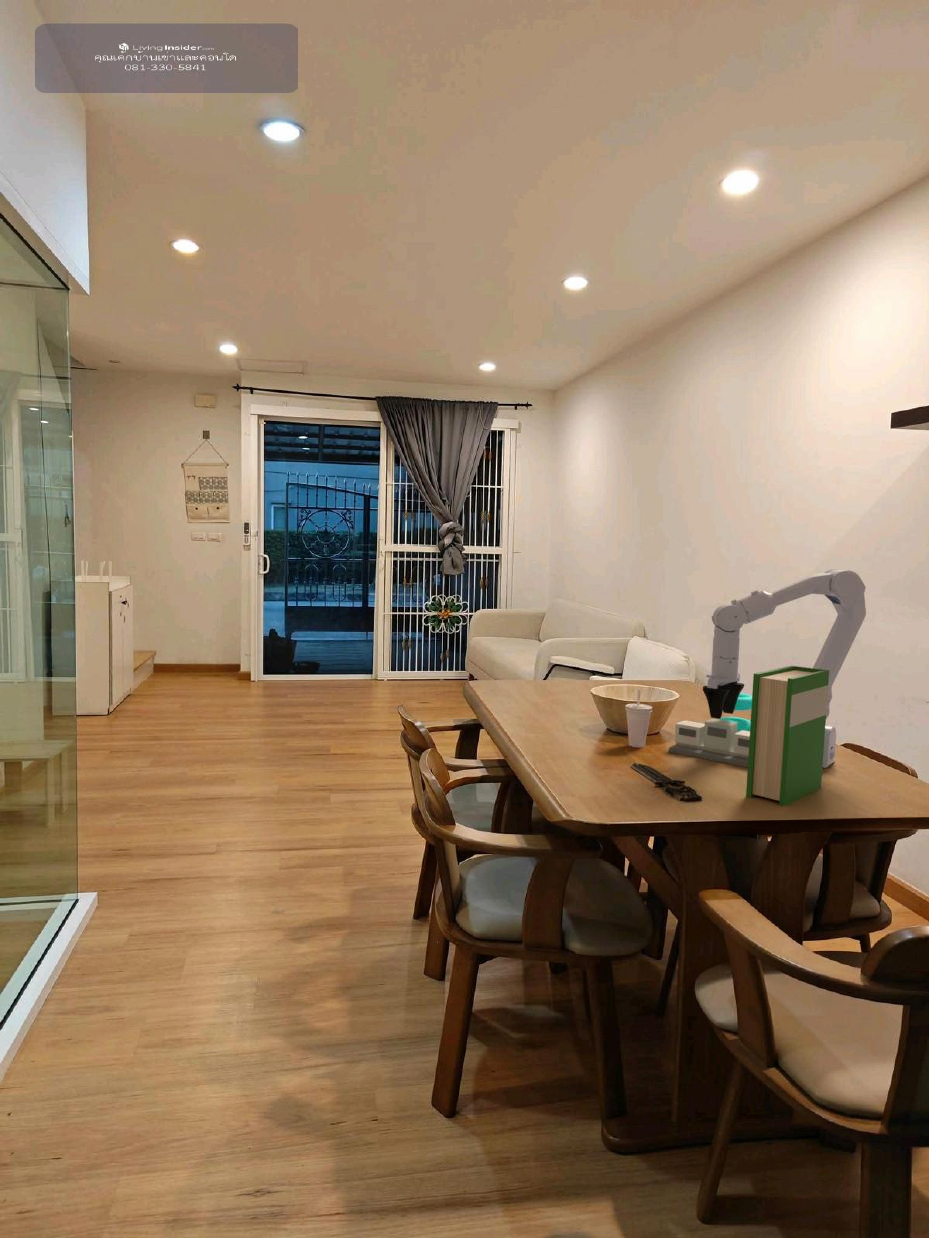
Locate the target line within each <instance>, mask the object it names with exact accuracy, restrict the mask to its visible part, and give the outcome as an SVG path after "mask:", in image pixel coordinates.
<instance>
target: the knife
mask: <svg viewBox="0 0 929 1238" xmlns="http://www.w3.org/2000/svg"><path fill="white" fill-rule="evenodd" d="M630 768H632V769H634V770H635V771H637V773H639V774H641V775H642V776H645V777H646V778H647V779H649V780H651V781H652V780H653V781H652V782H653V783H654V785H655V786H654V788H661V787H665V788H664V789H665V790H664V793H666V792H667V793H666V794H668V795H669V794H670V795H669V796H671V797H674V795H676V796H680V797H679V801H680V802H682V801H684V802H683V803H691V802H692V803H693V802H696V803H697V802H702V801H703V797H702V796H701V795H699V793H697V791H696V789H694V788H692V787H691V786H689V785H685V784H686V781H685V780H681V779H671V778H670V777H668V776H667V775H665V774H663V773H662V772H661V771H659V770H657V769H655V768H654V767H652V766H651V765H650V766H649V765H647V764H646V765H645V764H642V763H635V762H632V764H631V766H630ZM669 784H670V785H671V786H670V785H669ZM658 785H659V786H658ZM675 787H676V788H675ZM686 796H687V797H686Z"/></svg>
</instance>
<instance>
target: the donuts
mask: <svg viewBox="0 0 929 1238" xmlns="http://www.w3.org/2000/svg"><path fill="white" fill-rule="evenodd" d="M751 708H752V694H748V693H744V692H743V693H742V692H740V694H739V697H738V699H737V702H736V706H735V709H734V711H742V712H743V711H751ZM718 720H724V721H730V722H736V723H738V726H737V732H740V731H742V730H744V731H750V724H751V720H749V719H746V718H743V717H739V716H738V717H736V716H726V717H721V719H718Z"/></svg>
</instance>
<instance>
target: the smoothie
mask: <svg viewBox="0 0 929 1238" xmlns="http://www.w3.org/2000/svg"><path fill="white" fill-rule="evenodd" d="M636 701H637V702H636V703H628V704H626V705H625V706H624V707H625V708H624V710H625V711H626V720H627V721H626V722H627V735H628V746H629V747H631V746H632V748H645V747H646V741H647V735H648V730H649V724H650V719H651V714H652V712H653V706H652V705H648V704H646V703H645V704H644V703H641V702H640V701H641V688H640V687H639V688H638V689H637V700H636Z"/></svg>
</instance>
